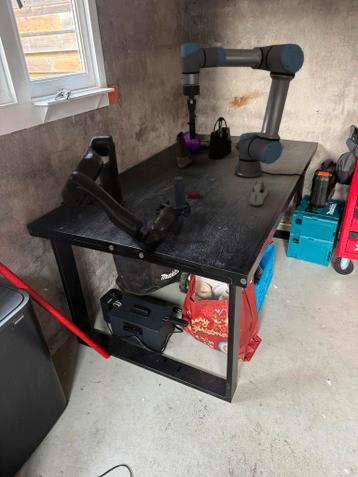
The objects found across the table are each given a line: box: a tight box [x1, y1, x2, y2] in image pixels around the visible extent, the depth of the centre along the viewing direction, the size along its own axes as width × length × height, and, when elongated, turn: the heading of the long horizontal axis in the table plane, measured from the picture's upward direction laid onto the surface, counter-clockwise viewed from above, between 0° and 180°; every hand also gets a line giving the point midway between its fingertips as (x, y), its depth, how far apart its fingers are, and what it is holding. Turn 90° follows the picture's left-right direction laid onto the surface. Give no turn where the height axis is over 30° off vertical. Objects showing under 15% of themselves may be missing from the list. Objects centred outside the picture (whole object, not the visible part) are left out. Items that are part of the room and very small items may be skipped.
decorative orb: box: [183, 130, 202, 154], centre depth 230 cm, size 15×15×15 cm
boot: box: [175, 131, 194, 169], centre depth 209 cm, size 9×24×20 cm, turn 168°
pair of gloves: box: [199, 134, 233, 149], centre depth 252 cm, size 30×26×5 cm
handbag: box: [207, 116, 232, 160], centre depth 218 cm, size 21×9×25 cm, turn 148°
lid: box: [188, 190, 200, 200], centre depth 165 cm, size 5×5×2 cm
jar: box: [173, 176, 186, 210], centre depth 149 cm, size 5×5×15 cm
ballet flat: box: [249, 179, 269, 207], centre depth 158 cm, size 8×24×8 cm, turn 163°
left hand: (177, 203), depth 146 cm, fingers open, 8 cm apart
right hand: (192, 135), depth 151 cm, fingers open, 13 cm apart
